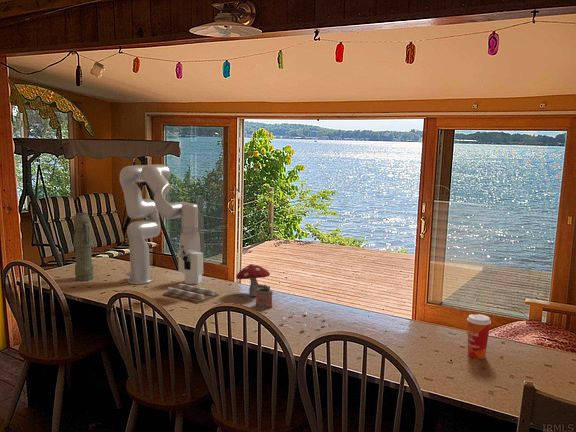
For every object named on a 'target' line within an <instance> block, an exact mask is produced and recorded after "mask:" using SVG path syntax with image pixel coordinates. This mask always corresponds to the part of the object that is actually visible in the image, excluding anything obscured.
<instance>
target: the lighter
mask: <svg viewBox="0 0 576 432" xmlns="http://www.w3.org/2000/svg"><path fill="white" fill-rule="evenodd" d="M257 287H259V288H260V289H256V296H255V307H256V308H257V307H258V308H261V309H270V310H271V309H273V290H271V286H270V285H267V284H259V283H258V285H257Z"/></svg>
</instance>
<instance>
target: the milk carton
mask: <svg viewBox="0 0 576 432" xmlns="http://www.w3.org/2000/svg"><path fill="white" fill-rule="evenodd" d="M202 281H203V274H201V275H198V276H197V275H192V274H187V273H184V284H185V285H200V283H202Z"/></svg>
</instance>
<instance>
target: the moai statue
mask: <svg viewBox="0 0 576 432" xmlns="http://www.w3.org/2000/svg"><path fill="white" fill-rule="evenodd" d="M73 228H74V234H73V237H72V238H73V247H74V253H75V255H74V257H75V258H74V259H75V266H74V275H75V280H76V281H78V282H87V281H91V280H94V265H93V259H92V256H93V255H92V247H93V236H92V233H91V229H90V228H91V221H90V216H89V214H88V213H87V212H76V213H75V214H74V218H73Z"/></svg>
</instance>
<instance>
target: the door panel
mask: <svg viewBox="0 0 576 432" xmlns="http://www.w3.org/2000/svg"><path fill="white" fill-rule="evenodd" d="M179 254H180V253H179V250H178V252H177V255H178V256H177V257H178V258H177V259H178V265H177V266H178V272H179V273H181V274H185V273H187V274H192V275H197V276H198V275H201V274H202V275H204V252H202V251H201V252H194V253H191V254H190V257H189V261H190V270H187V269H184V261H183V259H182V258H181V257H179ZM186 258H187V256H186Z"/></svg>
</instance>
